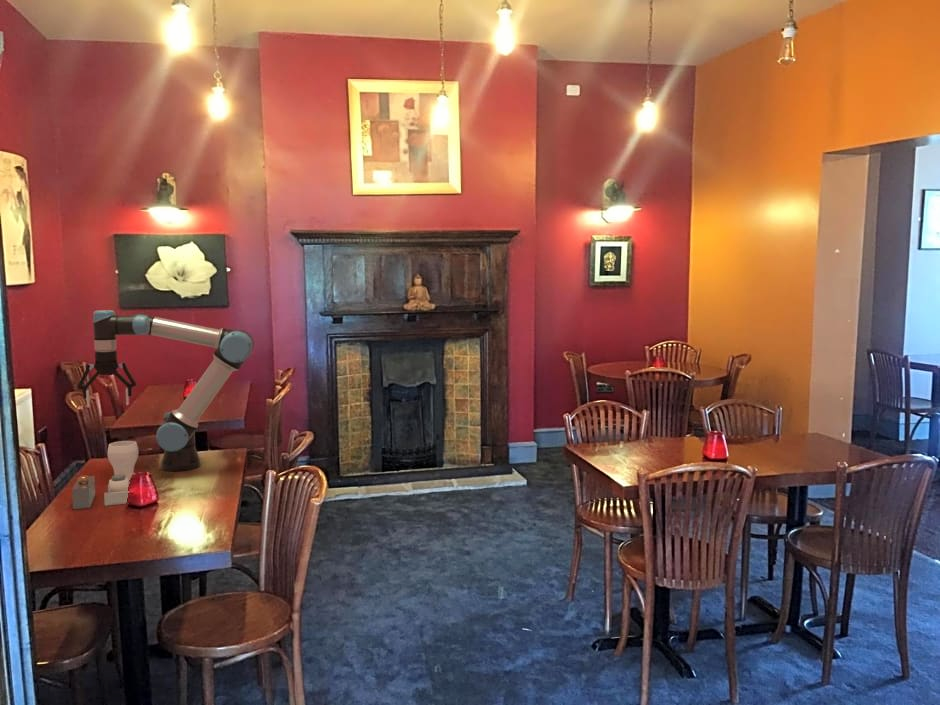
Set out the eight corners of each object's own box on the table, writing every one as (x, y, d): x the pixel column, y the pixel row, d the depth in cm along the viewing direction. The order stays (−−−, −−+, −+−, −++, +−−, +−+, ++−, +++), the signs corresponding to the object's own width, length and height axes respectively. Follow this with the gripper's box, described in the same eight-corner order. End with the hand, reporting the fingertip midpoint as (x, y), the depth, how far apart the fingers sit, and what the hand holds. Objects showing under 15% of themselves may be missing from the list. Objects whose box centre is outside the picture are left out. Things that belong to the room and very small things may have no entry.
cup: (145, 478, 287) (143, 440, 286) (129, 486, 277) (128, 447, 275) (119, 478, 288) (117, 440, 287) (103, 485, 278) (101, 446, 276)
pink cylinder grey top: (129, 495, 265) (128, 473, 264) (128, 500, 259) (127, 477, 258) (110, 497, 263) (109, 474, 262) (109, 502, 257) (108, 479, 256)
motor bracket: (133, 491, 270) (132, 467, 269) (130, 504, 255) (129, 478, 254) (79, 496, 264) (78, 471, 263) (73, 509, 249) (71, 483, 248)
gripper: (141, 348, 290) (144, 402, 292) (70, 351, 281) (73, 406, 283) (140, 350, 283) (143, 405, 285) (67, 352, 274) (70, 409, 276)
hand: (108, 405), depth 284 cm, fingers open, 13 cm apart
